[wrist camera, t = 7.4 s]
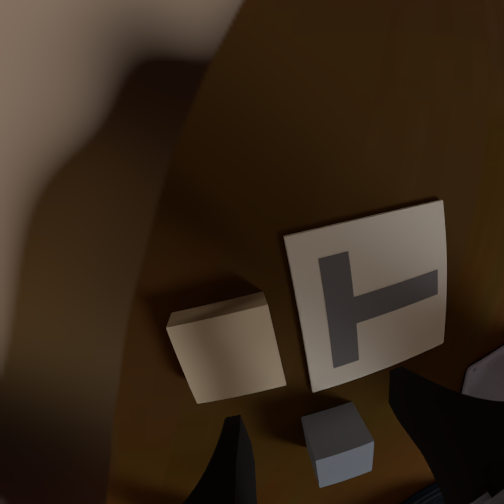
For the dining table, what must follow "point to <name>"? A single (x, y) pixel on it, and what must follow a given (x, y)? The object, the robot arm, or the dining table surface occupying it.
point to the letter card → (370, 291)
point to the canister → (427, 496)
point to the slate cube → (338, 444)
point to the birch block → (227, 348)
